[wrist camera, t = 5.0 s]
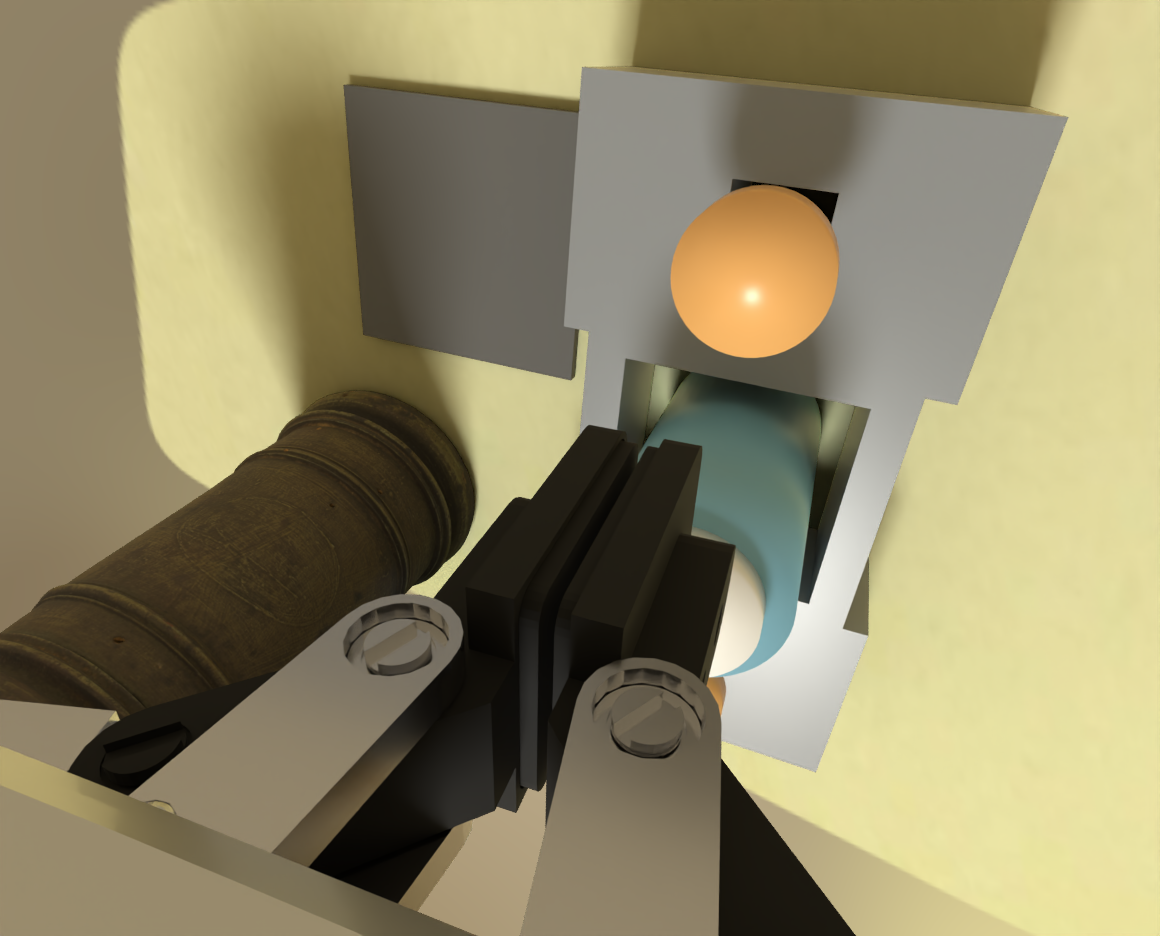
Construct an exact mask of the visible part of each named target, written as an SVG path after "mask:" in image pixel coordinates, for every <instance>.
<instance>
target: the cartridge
mask: <svg viewBox="0 0 1160 936" xmlns="http://www.w3.org/2000/svg"><path fill="white" fill-rule="evenodd" d="M821 425H822V424H821V415H820V411H819V407H818V404H817V402H816V399H815V397H810V396H805V395H801V394H796V393H791V392H786V391H781V390H776V389H772V388H767V387H762V386H757V385H752V384H747V383H743V382H738V381H733V380H728V379H723V378H718V377H714V376H709V375H704V374H699V373H694V372H691V373H690V374H689V375H688V376H687V377H686V378H685V379H684V380H683V382H682V383H681V384H680V386H679V387H678V389H677V391H676V392H675V394H674V396H673V397H672V399H671V401H670V402H669V404H668V406H667V407H666V409H665V411H664V412H663V414H662V416H661V417H660V419H659V421H658V422H657V424H656V426H655V427H654V429H653V431H652V432H651V434H650V436H649V437H648V439H647V441H646V442H645V444H644V446H643V447H642V449H641V451H640V452H639V454H638V462H639V460H640V458H641V456H642V454H643V453H644V451H645V449H646V448H647V446H652V447H657V448H659V447H660V445H661V443H662V441H663V440H664V439H668V440H673V441H678V442H684V443H689V444H694V445H700V446H702V461H701V468H700V475H699V482H698V489H697V496H696V503H695V510H694V517H693V525H692V532H691V535H693V536H697V537H702V538H706V539H711V540H715V541H720V542H724V543H729V544H733V545H736V550H735V556H734V562H733V568H732V573H731V579H730V584H729V590H728V595H727V600H726V605H725V610H724V615H723V620H722V624H721V629H720V633H719V638H718V642H717V646H716V650H715V654H714V658H713V662H712V666H711V670H710V674H709V677H724V676H731V675H735V674H739V673H743V672H746V671H748V670H751V669H753V668H755V667H757V666H759V665H761V664H762V663H764V662H766V661H767V660H768V659H770V658H771V657H772V656H773V655H775V654H776V653H777V652H778V650H779V649H780V648H781V647H782V646H783V645H784V643H785V642H786V640H787V638H788V637H789V635H790V633H791V630H792V628H793V625H794V621H795V616H796V611H797V604H798V596H799V589H800V582H801V575H802V567H803V560H804V553H805V546H806V539H807V531H808V524H809V517H810V510H811V503H812V495H813V488H814V481H815V474H816V467H817V459H818V452H819V445H820V438H821Z"/></svg>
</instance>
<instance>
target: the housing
mask: <svg viewBox="0 0 1160 936" xmlns="http://www.w3.org/2000/svg"><path fill="white" fill-rule="evenodd" d="M1067 119H1068V117H1066V116H1062V115H1058V114H1055V113H1051V112H1047V111H1044V110H1040V109H1036V108H1033V107H1028V106H1018V105H1008V104H998V103H988V102H978V101H968V100H958V99H948V98H939V97H929V96H919V95H909V94H899V93H889V92H879V91H869V90H859V89H850V88H840V87H830V86H820V85H810V84H800V83H790V82H780V81H771V80H761V79H751V78H741V77H731V76H721V75H711V74H701V73H691V72H682V71H672V70H662V69H652V68H642V67H632V66H626V67H582V75H581V90H580V104H579V118H578V132H577V146H576V161H575V175H574V189H573V203H572V218H571V232H570V246H569V260H568V274H567V289H566V303H565V317H564V326H565V327H570V328H575V329H580V330H585V331H589V338H588V349H587V360H586V371H585V382H584V394H583V405H582V416H581V427H580V434H581V433H582V432H583V430H584V429H585V428H586V427H587V426H588V425H594V426H599V427H604V428H609V429H615V430H620V431H625V432H626V434H627V442H631V443H636V444H638V449H639V451H638V454H639V452H640V451H641V449H642V447H643V445H644V438H645V431H646V424H647V417H648V410H649V402H650V395H651V388H652V381H653V374H654V367H655V364H656V365H660V366H665V367H670V368H675V369H680V370H685V371H689V372H694V373H699V374H704V375H709V376H714V377H718V378H723V379H728V380H733V381H738V382H743V383H747V384H752V385H757V386H762V387H767V388H772V389H776V390H781V391H786V392H791V393H796V394H801V395H805V396H810V397H815V398H820V399H825V400H830V401H834V402H839V403H844V404H849V405H854V406H855V409H854V413H853V416H852V419H851V422H850V426H849V429H848V432H847V436H846V439H845V442H844V445H843V449H842V452H841V455H840V459H839V462H838V465H837V468H836V472H835V475H834V478H833V481H832V485H831V488H830V491H829V495H828V498H827V501H826V504H825V508H824V511H823V514H822V517H821V521H820V524H819V527H818V530H817V529H813V528H809V527H808V531H807V539H806V546H805V553H804V560H803V567H802V575H801V582H800V589H799V596H798V604H797V611H796V616H795V621H794V625H793V628H792V630H791V633H790V635H789V637H788V638H787V640H786V642H785V643H784V645H783V646H782V647H781V648H780V649H779V650H778V652H777V653H776V654H775V655H773V656H772V657H771V658H770V659H768V660H767V661H766V662H764V663H762V664H761V665H759V666H757V667H755V668H753V669H751V670H748V671H746V672H743V673H739V674H735V675H731V676H724V677H723V678H724V680H725V684H726V697H725V701H724V705H723V710H722V714H721V722H722V732H721V741H724V742H727V743H730V744H733V745H736V746H739V747H742V748H745V749H748V750H751V751H754V752H757V753H760V754H763V755H766V756H769V757H772V758H775V759H778V760H781V761H784V762H787V763H790V764H793V765H796V766H799V767H802V768H805V769H808V770H811V771H814V772H816V770H817V768H818V765H819V763H820V760H821V757H822V755H823V752H824V750H825V747H826V745H827V742H828V739H829V737H830V734H831V732H832V729H833V726H834V724H835V721H836V719H837V716H838V713H839V711H840V708H841V706H842V703H843V700H844V698H845V695H846V693H847V690H848V687H849V685H850V682H851V680H852V677H853V674H854V672H855V669H856V667H857V664H858V661H859V659H860V656H861V654H862V651H863V648H864V646H865V643H866V641H867V638H868V606H869V557H868V556H869V553H870V550H871V548H872V545H873V542H874V539H875V537H876V534H877V531H878V528H879V525H880V523H881V520H882V517H883V514H884V511H885V509H886V506H887V503H888V500H889V497H890V495H891V492H892V489H893V486H894V483H895V481H896V478H897V475H898V472H899V469H900V467H901V464H902V461H903V458H904V455H905V453H906V450H907V447H908V444H909V442H910V439H911V436H912V433H913V430H914V428H915V425H916V422H917V419H918V416H919V414H920V411H921V408H922V405H923V402H924V400H925V399H930V400H935V401H940V402H945V403H950V404H955V405H958V402H959V399H960V397H961V394H962V392H963V389H964V386H965V384H966V381H967V379H968V376H969V373H970V371H971V368H972V366H973V363H974V360H975V358H976V355H977V353H978V350H979V347H980V345H981V342H982V340H983V337H984V334H985V332H986V329H987V327H988V324H989V322H990V319H991V316H992V314H993V311H994V309H995V306H996V303H997V301H998V298H999V296H1000V293H1001V290H1002V288H1003V285H1004V283H1005V280H1006V277H1007V275H1008V272H1009V270H1010V267H1011V264H1012V262H1013V259H1014V257H1015V254H1016V251H1017V249H1018V246H1019V244H1020V241H1021V238H1022V236H1023V233H1024V231H1025V228H1026V225H1027V223H1028V220H1029V218H1030V215H1031V213H1032V210H1033V207H1034V205H1035V202H1036V200H1037V197H1038V194H1039V192H1040V189H1041V187H1042V184H1043V181H1044V179H1045V176H1046V174H1047V171H1048V168H1049V166H1050V163H1051V161H1052V158H1053V155H1054V153H1055V150H1056V148H1057V145H1058V142H1059V140H1060V137H1061V135H1062V132H1063V129H1064V127H1065V124H1066V122H1067ZM752 181H754V182H761V183H768V184H776V185H783V186H790V187H797V188H805V189H812V190H819V191H827V192H834V193H839V196H838V200H837V204H836V208H835V212H834V216H833V220H832V224H831V226H832V228H833V230H834V233H835V235H836V238H837V242H838V247H839V257H840V262H839V273H838V279H837V285H836V290H835V295H834V298H833V301H832V304H831V306H830V308H829V310H828V312H827V314H826V316H825V317H824V319H823V320H822V322H821V323H820V325H819V326H818V327H817V328H816V329H815V330H814V332H813V333H811V334H810V335H809V336H808V337H807V338H806V339H805V340H803V341H802V342H800V343H799V344H797V345H796V346H794V347H792V348H790V349H788V350H786V351H784V352H781V353H778V354H775V355H771V356H767V357H759V358H744V357H736V356H732V355H728V354H725V353H722V352H720V351H717V350H715V349H713V348H711V347H710V346H708V345H706V344H705V343H704V342H702V341H701V340H699V339H698V338H697V337H696V336H695V335H694V334H693V333H692V332H691V331H690V330H689V328H688V327H687V326H686V325H685V323H684V321H683V320H682V318H681V317H680V315H679V313H678V310H677V308H676V306H675V303H674V299H673V295H672V290H671V266H672V261H673V256H674V253H675V250H676V247H677V245H678V243H679V241H680V239H681V237H682V235H683V234H684V232H685V231H686V229H687V228H688V227H689V225H690V224H691V223H692V222H693V221H694V220H695V219H696V218H697V217H698V216H699V215H700V214H701V213H702V212H704V211H705V210H706V209H707V208H708V207H709V206H710V205H712V204H713V203H714V202H715V201H717V200H718V199H720V198H721V197H723V196H724V195H726V194H728V193H730V192H732V191H735V190H738V189H741V188H744V187H749V186H751V185H752Z"/></svg>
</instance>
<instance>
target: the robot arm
mask: <svg viewBox="0 0 1160 936" xmlns="http://www.w3.org/2000/svg"><path fill="white" fill-rule="evenodd" d="M638 451H639V449H638V444H636V443H631V442H627V434H626V432H625V431H620V430H615V429H609V428H604V427H599V426H594V425H588V426H587V427H586V428H585V429H584V430H583V432H582V433H581V434H580V436H579V437H578V438H577V440H576V441H575V442H574V443H573V445H572V446H571V447H570V449H569V450H568V451H567V453H566V454H565V455H564V457H563V458H562V459H561V461H560V462H559V463H558V465H557V466H556V467H555V469H554V470H553V471H552V473H551V474H550V475H549V477H548V478H547V479H546V481H545V482H544V483H543V484H542V486H541V487H540V488H539V490H538V491H537V492H536V494H535V495H534V496H533V498H532V499H526V498H522V497H518V498H514V499H513V500H512V501H511V502H510V503H509V504H508V505H507V507H506V508H505V509H504V510H503V512H502V513H501V514H500V515H499V517H498V518H497V519H496V521H495V522H494V523H493V524H492V526H491V527H490V528H489V529H488V531H487V532H486V533H485V534H484V536H483V537H482V538H481V539H480V541H479V542H478V543H477V544H476V546H475V547H474V548H473V549H472V551H471V552H470V553H469V554H468V556H467V557H466V558H465V559H464V561H463V562H462V563H461V564H460V566H459V567H458V568H457V569H456V571H455V572H454V573H453V574H452V576H451V577H450V578H449V579H448V581H447V582H446V583H445V584H444V586H443V587H442V588H441V589H440V591H439V592H438V593H437V594H436V596H435V597H434V598H430V597H426V596H422V595H407V594H400V595H394V596H388V597H381V598H379V599H376V600H373V601H371V602H368V603H365V604H363V605H361V606H360V607H358V608H357V609H355V610H353V611H352V612H350V613H349V614H347V615H346V616H345V617H344V618H342V619H341V620H340V621H339V622H338V623H336V624H335V625H334V626H333V627H331V628H330V629H329V630H328V631H327V632H325V633H324V634H323V635H322V636H321V637H319V638H318V639H317V640H316V641H315V642H313V643H312V644H311V645H310V646H309V647H307V648H306V649H305V650H304V651H303V652H301V653H300V654H299V655H298V656H297V657H295V658H294V659H293V660H292V661H290V662H289V663H288V664H287V665H286V666H284V667H283V668H282V669H281V670H278V671H274V672H271V673H267V674H264V675H260V676H257V677H253V678H250V679H246V680H243V681H239V682H236V683H232V684H229V685H225V686H222V687H218V688H215V689H211V690H208V691H204V692H201V693H197V694H194V695H190V696H187V697H183V698H180V699H176V700H173V701H169V702H166V703H162V704H159V705H155V706H152V707H149V708H146V709H144V710H141V711H139V712H136V713H133V714H131V715H128V716H126V717H124V718H123V719H121V720H120V719H119V717H118V715H117V712H116V711H111V710H101V709H91V708H81V707H71V706H61V705H51V704H41V703H31V702H20V701H10V700H0V936H476V935H474V934H471V933H469V932H466V931H464V930H462V929H459V928H456V927H454V926H451V925H449V924H447V923H444V922H442V921H439V920H437V919H434V918H432V917H429V916H427V915H424V914H422V913H419V912H417V911H418V910H419V909H420V907H421V906H422V904H423V903H424V901H425V900H426V898H427V897H428V896H429V894H430V893H431V891H432V890H433V888H434V887H435V885H436V884H437V883H438V881H439V880H440V878H441V877H442V876H443V874H444V873H445V871H446V870H447V868H448V867H449V866H450V864H451V863H452V861H453V860H454V858H455V857H456V856H457V854H458V852H459V851H460V850H461V848H462V847H463V845H464V844H465V842H466V840H467V838H468V836H469V834H470V832H471V830H472V824H473V819H475V818H478V817H480V816H483V815H485V814H488V813H490V812H493V811H495V809H496V807H500V808H503V809H506V810H509V811H512V812H515V813H516V812H517V810H518V808H519V806H520V804H521V802H522V799H523V797H524V795H525V793H526V791H527V789H528V788H529V789H532V790H536V791H540V790H541V789H542V788H543V786H544V784H545V782H546V780H547V782H546V783H547V785H546V829H545V833H544V838H543V842H542V846H541V850H540V854H539V858H538V862H537V867H536V871H535V875H534V879H533V883H532V888H531V892H530V896H529V900H528V904H527V908H526V912H525V917H524V921H523V925H522V929H521V933H520V936H856V935H855V934H854V933H853V932H852V930H851V929H850V927H849V926H848V925H847V924H846V922H845V921H844V920H843V918H842V917H841V916H840V914H839V913H838V912H837V910H836V909H835V908H834V906H833V905H832V904H831V902H830V901H829V900H828V899H827V897H826V896H825V894H824V893H823V892H822V890H821V889H820V888H819V887H818V885H817V884H816V883H815V881H814V880H813V879H812V877H811V876H810V875H809V873H808V872H807V871H806V869H805V868H804V867H803V865H802V864H801V863H800V861H799V860H798V859H797V857H796V856H795V855H794V854H793V852H792V851H791V850H790V848H789V847H788V846H787V844H786V843H785V842H784V840H783V839H782V838H781V836H780V835H779V834H778V832H777V831H776V830H775V829H774V827H773V826H772V825H771V823H770V822H769V821H768V819H767V818H766V817H765V815H764V814H763V813H762V811H761V810H760V809H759V808H758V806H757V805H756V803H755V802H754V801H753V800H752V798H751V797H750V796H749V794H748V793H747V792H746V790H745V789H744V788H743V786H742V785H741V784H740V782H739V781H738V780H737V778H736V777H735V776H734V775H733V773H732V772H731V771H730V769H729V768H728V767H727V765H726V764H725V763H724V761H723V760H722V759H721V732H722V722H721V716H720V711H719V705H718V703H717V702H716V700H715V698H714V696H713V695H712V693H711V691H710V689H709V688H708V687H707V682H708V678H709V674H710V670H711V666H712V662H713V658H714V654H715V650H716V646H717V642H718V638H719V633H720V629H721V624H722V620H723V615H724V610H725V605H726V600H727V595H728V590H729V584H730V579H731V573H732V568H733V562H734V556H735V550H736V545H733V544H729V543H724V542H720V541H715V540H711V539H706V538H702V537H697V536H693V535H691V532H692V525H693V517H694V510H695V503H696V496H697V489H698V482H699V475H700V468H701V461H702V446H700V445H694V444H689V443H684V442H678V441H673V440H668V439H664V440H663V441H662V443H661V445H660V447H659V448H657V447H652V446H647V448H646V449H645V451H644V453H643V454H642V456H641V458H640V460H639V462H638Z"/></svg>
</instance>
